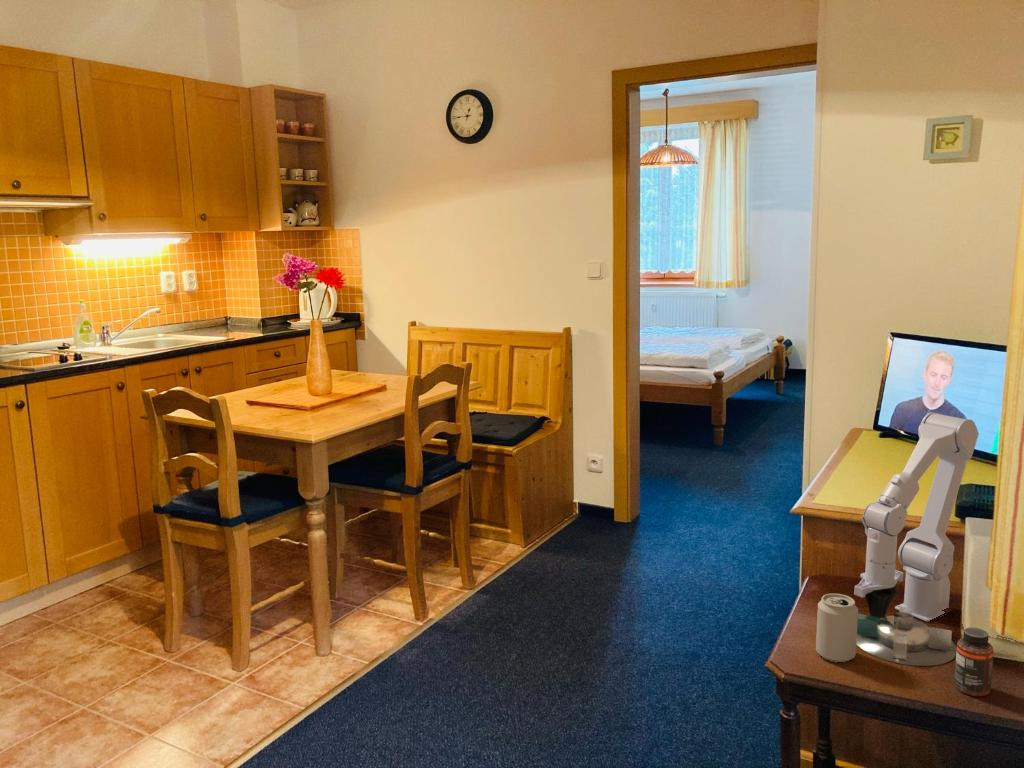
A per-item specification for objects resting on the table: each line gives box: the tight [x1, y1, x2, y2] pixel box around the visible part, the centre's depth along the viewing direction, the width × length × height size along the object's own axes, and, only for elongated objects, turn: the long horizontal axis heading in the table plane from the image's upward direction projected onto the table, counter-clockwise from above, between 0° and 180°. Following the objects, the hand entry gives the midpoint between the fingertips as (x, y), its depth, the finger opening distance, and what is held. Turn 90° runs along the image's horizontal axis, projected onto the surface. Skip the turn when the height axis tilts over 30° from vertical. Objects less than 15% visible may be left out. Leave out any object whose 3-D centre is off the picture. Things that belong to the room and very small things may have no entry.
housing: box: [856, 611, 957, 667], centre depth 174 cm, size 20×20×6 cm
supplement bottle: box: [954, 626, 995, 697], centre depth 155 cm, size 6×6×11 cm
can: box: [815, 593, 859, 663], centre depth 168 cm, size 8×8×12 cm
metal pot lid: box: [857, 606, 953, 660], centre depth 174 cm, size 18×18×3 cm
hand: (876, 619), depth 180 cm, fingers closed
